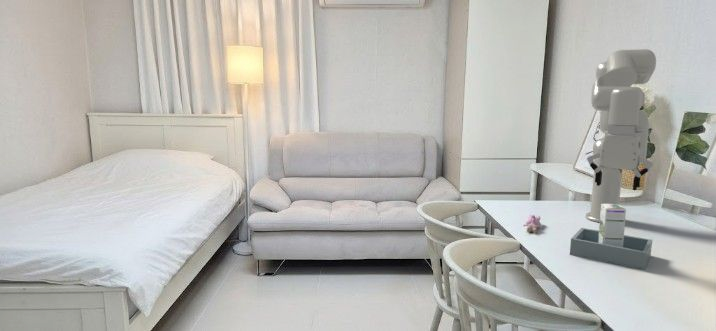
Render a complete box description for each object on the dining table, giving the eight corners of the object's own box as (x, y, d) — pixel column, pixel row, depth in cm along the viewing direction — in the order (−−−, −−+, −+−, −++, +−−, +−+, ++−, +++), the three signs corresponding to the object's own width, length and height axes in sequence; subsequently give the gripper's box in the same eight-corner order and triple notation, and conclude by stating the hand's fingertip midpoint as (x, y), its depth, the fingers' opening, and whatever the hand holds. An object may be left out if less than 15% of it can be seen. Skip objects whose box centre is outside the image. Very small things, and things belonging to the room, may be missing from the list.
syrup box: (622, 255, 140) (627, 208, 138) (601, 253, 142) (605, 207, 139) (617, 249, 146) (621, 204, 143) (596, 247, 147) (600, 202, 145)
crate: (580, 242, 155) (581, 227, 154) (650, 255, 143) (652, 239, 142) (569, 254, 144) (570, 238, 143) (644, 269, 132) (646, 252, 131)
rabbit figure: (540, 239, 163) (543, 221, 175) (541, 223, 161) (544, 206, 174) (521, 236, 165) (526, 219, 178) (522, 221, 163) (526, 204, 176)
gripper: (658, 131, 135) (651, 188, 138) (592, 127, 145) (587, 181, 148) (655, 134, 129) (648, 194, 132) (587, 130, 139) (582, 185, 143)
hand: (616, 187), depth 140 cm, fingers open, 9 cm apart
